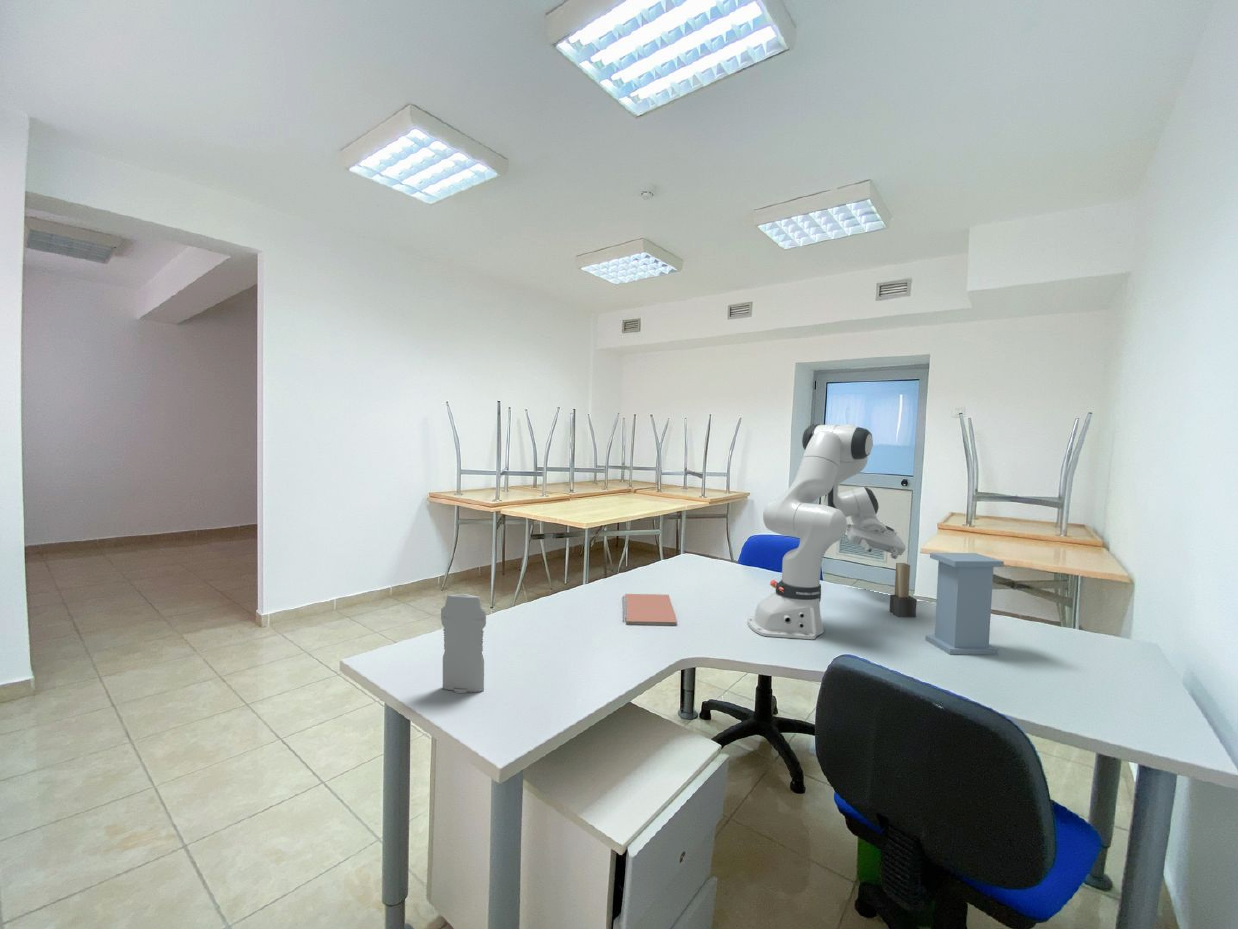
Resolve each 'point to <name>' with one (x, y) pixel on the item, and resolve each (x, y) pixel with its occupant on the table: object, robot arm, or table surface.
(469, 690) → the tall pale column
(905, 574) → the mallet
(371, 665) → the table surface
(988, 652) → the stand
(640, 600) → the notebook
